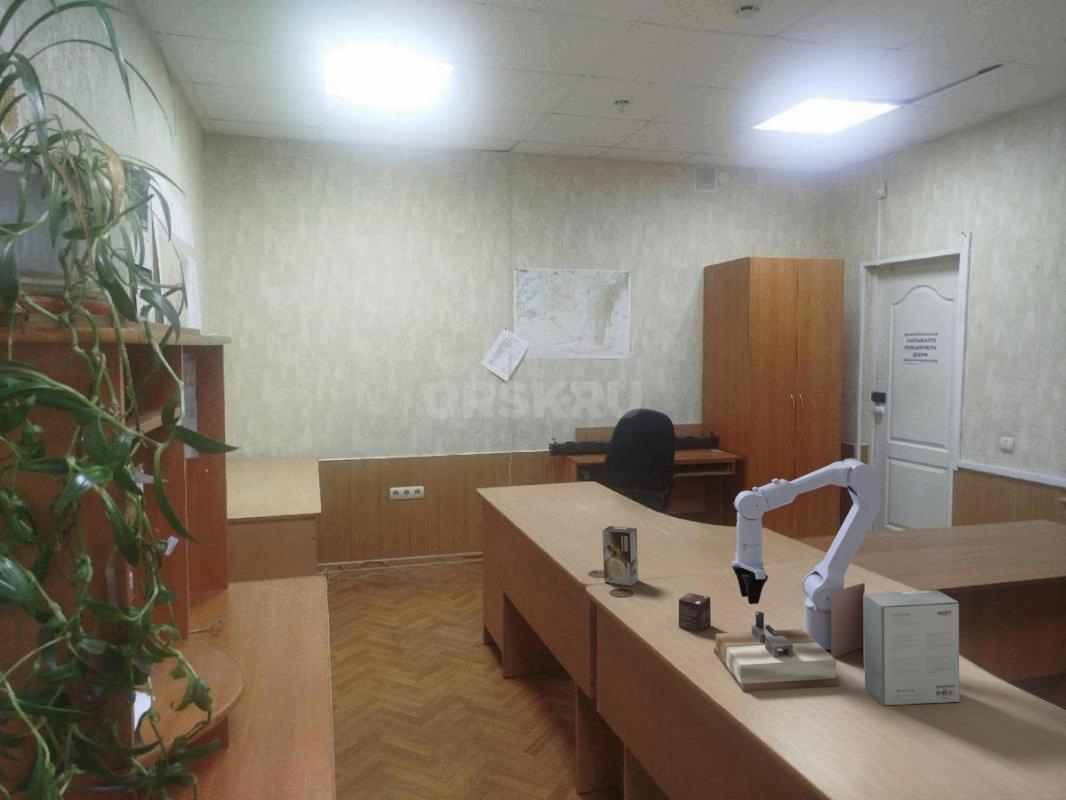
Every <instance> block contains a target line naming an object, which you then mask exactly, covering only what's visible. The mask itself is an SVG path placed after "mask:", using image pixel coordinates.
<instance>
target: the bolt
mask: <svg viewBox="0 0 1066 800" xmlns="http://www.w3.org/2000/svg"><path fill="white" fill-rule="evenodd" d="M754 626H756V627H757V628H758V629H759V630H760V631H761V632H762V633H763V639H764V640H765V637H769V636H773V635H772V634H771V633H770V632H769V631H768V630H767V629H766V626H765V613H764V612H763V611H756V612H755V623H754Z"/></svg>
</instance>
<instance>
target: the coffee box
mask: <svg viewBox="0 0 1066 800" xmlns="http://www.w3.org/2000/svg"><path fill="white" fill-rule="evenodd" d="M637 529H638V528H635V527H625V526H613V525H609V526H607V527H606V528H604V529H603V530H602V552H603V553H602V554H603V582H604V581H605V582H609V583H608V584H613V583H614V584H615V585H620V584H621V585H622V586H630V587H632V586H634V585H635V584H636V583H637V582H639V573H638V572H639V571H638V570H639V569H638V566H639V565H638V562H639V561H638V540H637V539H638V536H637V535H638V532H637ZM605 582H604V583H605Z"/></svg>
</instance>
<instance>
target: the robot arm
mask: <svg viewBox="0 0 1066 800" xmlns="http://www.w3.org/2000/svg"><path fill="white" fill-rule="evenodd" d="M882 482H883V481H882V478H881V477H880V475H879V473H878V471H877V470H876V469H875V467H874V466H872V465H870V464H867V463H864V462H862V461H860V460H859V459H857V458H852V457H850V458H849V457H848V458H845V459H844V460H841V461H835V462H834V461H833V462H832V463H830V464H829V465H826V466H824V467H822V468H821V467H820V468H819V469H817V470H814V471H812V472H810V473H807V474H805V475H802V476H800V477H798V478H796V479H793V480H791V481H789V480H786V479H785V478H781V479H778V478H774V479H771V482H769V483H768V484H765V485H762V486H760V487H757V486H754V487H752V489H751V490H752V491H751V490H743V491H740V492H739V493H738V494H737V495H736V497H735V499H734V501H733V505H734V508H735V510H736V511H737V512H736V521H737V522H736V552H735V553H734V560H732V561H731V565H732V570H733V571H734V575H736V576H735V577H736V579H737V583H738V586H739V591H740V595H741V597H742V598H747V600H748V601H747V602H748V604H749V605H757V604H759V603H760V598H761V595H762V591H763V588H764V585H765V584H766V582H767V581H768V579H769V576H768V575H767V574H766V570H765V567H764V561H763V523H762V517H763V515H764V514H765V512H770V511H772V510H775V509H777V508H780V507H782V506H786V505H788V504H791V503H793V502H794V500H795V498H796V496H798V495H801V494H804V493H807V492H810V491H813V490H816V489H820V488H823V487H825V486H829V485H832V486H838V487H842V488H846V489H847V490H848V493H849V495H850V497H851V500H852V502H853V505H851V507H850V510H849V512H848V514H847V515H846V517H845V519H844V521H843V523H842V525H841V527H840V528H839V531H838V532H837V534H836V536H835V538H833V542H832V543H831V545H830V547H829V548H828V550H827V552H826V554H825V556H824V558H823V560H822V561H821V562H819V563H818V564H816V565H815V566H814V568H813V569H812V570H811V572H810V573H808V574H807V575H805V577H804V578H803V579H802V582H801V587H802V590H803V591H802V592H804V594H805V595H806V598H805V600H804V632H805V633H807V634H808V635H809V636H810V637H811V638H812V639H813V640H814V641H815V642H817V643H818V644H819V645H820V646H821V647H822V648H823V649H824V650H825V651H827V650H828V651H831V592H833V591H837V590H840V589H844V588H845V574H846V572H847V570H848V569H849V566H850V565H851V562H852V561H853V559H854V557H855V555H856V554H857V552H858V550H859V548H860V546H861V545H862V542H863V541H864V539H865V537H866V536H867V533H868V531H869V530H870V528H871V526H872V524H873V522H874V520H875V518H876V517H877V515H878V513H879V511H880V509H881V507H882V506H881V505H882V504H881V503H882V502H881V501H882V499H881V495H882V494H881V485H882V484H883V483H882Z"/></svg>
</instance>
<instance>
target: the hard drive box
mask: <svg viewBox="0 0 1066 800" xmlns="http://www.w3.org/2000/svg"><path fill="white" fill-rule="evenodd" d="M863 597H864V689H865V690H866V691H867V692H868V693H869V694H870V695H871V696H872V697H873V698H874V699H875V700H876V701H877V702H878V703H879V704H881V705H882V706H904V705H917V704H946V703H957V702H958V703H959V702H960V603H959V601H958V600H956V599H954V598H952V597H951V596H949V595H947V594H945V593H943V592H941V590H938V589H930V590H929V589H928V590H909V591H908V590H905V591H895V592H894V591H893V592H891V591H890V592H877V593H865V594H863Z"/></svg>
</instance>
